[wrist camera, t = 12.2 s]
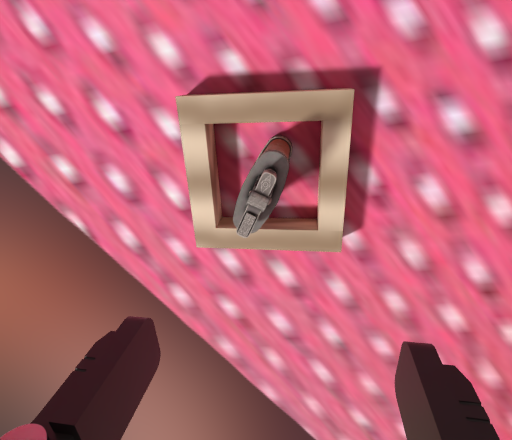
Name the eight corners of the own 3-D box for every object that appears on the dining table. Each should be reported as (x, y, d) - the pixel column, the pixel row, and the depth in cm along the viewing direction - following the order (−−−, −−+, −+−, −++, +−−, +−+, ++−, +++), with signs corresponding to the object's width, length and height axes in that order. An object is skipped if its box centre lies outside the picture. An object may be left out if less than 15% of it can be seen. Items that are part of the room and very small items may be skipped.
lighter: (269, 129, 32) (255, 151, 23) (299, 143, 32) (297, 170, 23) (240, 196, 35) (218, 237, 26) (267, 208, 35) (254, 253, 26)
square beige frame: (186, 94, 31) (175, 96, 29) (349, 88, 29) (354, 89, 26) (204, 235, 38) (196, 247, 35) (338, 238, 36) (341, 252, 33)
